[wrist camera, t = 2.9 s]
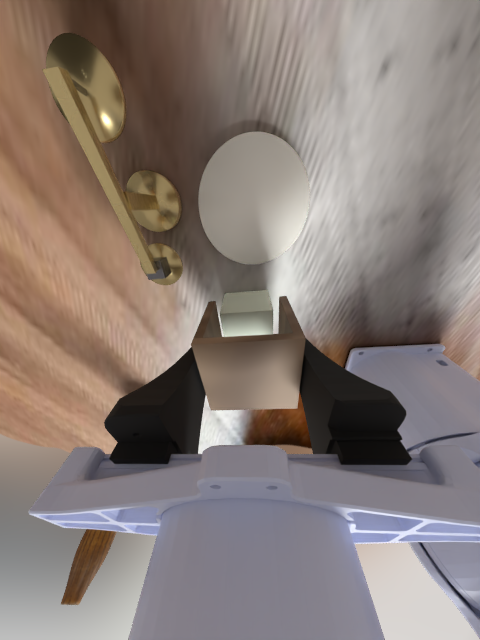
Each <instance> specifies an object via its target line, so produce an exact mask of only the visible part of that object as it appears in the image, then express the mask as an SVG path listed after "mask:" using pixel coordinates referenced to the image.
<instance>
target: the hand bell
mask: <svg viewBox="0 0 480 640" xmlns="http://www.w3.org/2000/svg"><path fill="white" fill-rule="evenodd" d="M115 534H116V531H107V530H96V529H87V530H86V532H85V534H84V536H83V538H82V540H81V542H80V544H79V547H78V549H77V551H76V554H75V557H74V561H73V564H72V567H71V571H70V575H69V579H68V583H67V586H66V590H65V593H64V596H63V599H62V602H61V604H67V605H78V604H79V603H80V601H81V599H82V597H83V595H84V594H85V592H86V590H87V588H88V586H89V584H90V583H91V581H92V580H93V578H94V576H95V574H96V573H97V571H98V570H99V568H100V566H101V565H102V563H103V561H104V559H105V558H106V555H107V553H108V551H109V549H110V547H111V544H112V542H113V540H114V537H115Z"/></svg>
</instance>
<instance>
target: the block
mask: <svg viewBox="0 0 480 640" xmlns="http://www.w3.org/2000/svg"><path fill="white" fill-rule="evenodd" d="M220 317H221V323H222V329H223V334H224V337H231V336H250V335H268V334H273V308H272V304H271V301H270V297H269V293H268V290H259V291H246V292H233V293H225V295H224V299H223V303H222V307H221V311H220Z"/></svg>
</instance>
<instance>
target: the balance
mask: <svg viewBox="0 0 480 640" xmlns="http://www.w3.org/2000/svg"><path fill="white" fill-rule="evenodd" d="M42 70H43V72H44V74H45V76H46V78H47V80H48V83H49V87H50V90H51V93H52V95H53V98H54V100H55V102H56V104H57V106H58V108H59V110H60V112H61V113H62V115H63V116H64V117H65V119H66V120H67V121H68V123H69V124H70V125H71V127H72V129H73V131H74V133H75V135H76V137H77V139H78V141H79V143H80V144H81V146H82V148H83V150H84V152H85V154H86V156H87V158H88V160H89V162H90V164H91V166H92V168H93V170H94V172H95V174H96V176H97V178H98V180H99V182H100V183H101V185H102V187H103V189H104V191H105V193H106V195H107V197H108V199H109V201H110V203H111V205H112V207H113V209H114V211H115V213H116V215H117V217H118V219H119V221H120V222H121V224H122V226H123V228H124V230H125V232H126V234H127V236H128V238H129V240H130V242H131V244H132V246H133V248H134V250H135V252H136V254H137V256H138V258H139V260H140V263H141V267H142V269H143V271H144V273H145V274H146V275H147V277H148V279H149V280H152V281H154V282H155V283H158V284H161V285H171V284H173V283H175V282H176V281H177V280H178V279H179V278H180V277H181V275H182V272H183V265H182V261H181V259H180V257H179V255H178V254H177V252H176V251H175V250H174V249H172V248H171V247H169V246H167V245H165V244H161V243H155V244H151V245H149V246H147V244H146V242H145V239H144V237H143V235H142V233H141V231H140V228H139V226H138V224H137V222H138V223H139V224H141V225H142V226H143V227H145V228H146V229H148V230H151V231H155V232H162V231H166V230H169V229H172V228H173V227H174V226H176V224H177V223H178V222H179V220H180V217H181V213H182V204H181V199H180V196H179V194H178V191H177V190H176V188H175V186H174V185H173V184H172V183H171V182H170V181H169V180H168V179H167V178H166V177H164V176H163V175H161V174H158V173H156V172H153V171H150V170H141V171H138V172H136V173H134V174H133V175H132V176H131V177H130V179H129V180H128V182H127V186H126V192H123V191H122V189H121V187H120V184H119V182H118V180H117V178H116V176H115V173H114V171H113V169H112V167H111V165H110V162H109V160H108V158H107V156H106V154H105V151H104V149H103V147H102V145H101V143H110V142H112V141H115V140H116V139H117V138H118V137H119V136H120V135H121V133H122V131H123V129H124V126H125V122H126V102H125V96H124V92H123V89H122V86H121V83H120V81H119V78H118V76H117V74H116V72H115V71H114V69H113V67H112V66H111V64H110V63H109V61H108V60H107V59H106V58H105V56H104V55H103V54H102V53H101V52H100V51H99V50H98V49H97V48H96V47H95V46H94V45H93V44H92V43H91V42H89V41H88V40H87V39H85V38H83V37H81V36H79V35H76V34H72V33H64V34H61V35H59V36H57V37H56V38H55V39H54V40H53V41H52V43H51V44H50V46H49V49H48V53H47V58H46V69H42ZM135 219H136V220H135ZM136 221H137V222H136Z"/></svg>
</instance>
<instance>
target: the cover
mask: <svg viewBox="0 0 480 640" xmlns="http://www.w3.org/2000/svg"><path fill="white" fill-rule="evenodd" d="M305 341H306V338H305V336H304V334H303V331H302V329H301V327H300V325H299V323H298V321H297V318H296V316H295V314H294V312H293V310H292V307H291V305H290V303H289V301H288V299H287V297H286V296H282V297H279V334H268V335H250V336H231V337H222V335H221V329H220V324H219V318H218V312H217V307H216V301H211V302H209V303H208V305H207V308H206V310H205V312H204V315H203V317H202V319H201V322H200V324H199V327H198V329H197V331H196V334H195V336H194V339H193V341H192V343H191V346H192V349H193V353H194V356H195V359H196V363H197V366H198V369H199V373H200V376H201V379H202V382H203V386H204V389H205V392H206V396H207V399H208V402H209V406H210V409H211V410H246V409H290V408H297V405H298V397H299V389H300V381H301V373H302V365H303V357H304V349H305Z"/></svg>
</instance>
